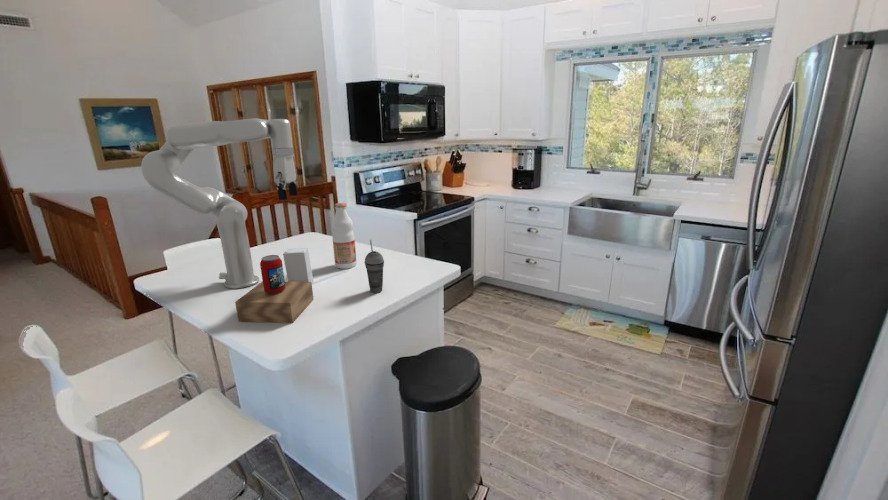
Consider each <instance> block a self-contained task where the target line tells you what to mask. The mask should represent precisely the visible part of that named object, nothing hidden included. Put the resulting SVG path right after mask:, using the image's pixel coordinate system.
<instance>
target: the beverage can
mask: <svg viewBox="0 0 888 500" xmlns="http://www.w3.org/2000/svg"><path fill="white" fill-rule="evenodd" d="M259 265H260V266H259V267H260V274H261V279H262V281H263V286H264V291H265V292H266V293H269V294H277V293H280V292H282V291H283V290H284V289H285V281H286V280H285V272H284V267H283V261H282V259H281V258H280V256H279V255H277V254H269V255H265V256H261V259H260V262H259Z"/></svg>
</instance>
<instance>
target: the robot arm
mask: <svg viewBox="0 0 888 500" xmlns="http://www.w3.org/2000/svg"><path fill="white" fill-rule="evenodd" d="M292 137H293V136H292V129H291V122H290V120H289V119H287V118H273V119H262V118H257V117H256V118H255V117H253V118H244V119H235V120H224V121H221V120H210V121H202V122H193V123H183V124H174V125H171V126H169V127H168V129H167V130H166V132H165V139H166V141H165V142H164V144H163V145H162V146H161V147H160V148H159V149H158V150H152V151H151V152H148V153H147V154H145V155H144V156H143V158H142V160H141V164H140V165H141V167H140V168H141V173H142V177H143V178H144V180H145V182H146V183H147V184H148V185H149V186H150V187H151V188H153V190H155V191H157V192H159V193H160V194H162V195H163V196H165V197H167V198H169V199H171V200H173V201H175V202H176V203H178V204H180V205H182V207H183V206H184V207H186V208H188V209H189V210H190V211H193V212H195V213H196V214H200V215H201V216H203V215H205V216H206V215H210V214H211V215H212V216H213V215H214V216H215V217H216V219H215V223H216V227H217V231H218V234H219V238H220V243H221V248H222V254H223V259H224V264H225V270H226V272H220V273H219V276H218V279H219V280H225V281H224V283H223V284H224V287H225V288H227V289H233V290H234V289H235V290H236V289H237V290H238V289H244V288H248V287H252V286H254V285H257V283H258V284H259V282H260V277H259V276H257V275H255V272H254V267H253V266H254V265H253V259H252V253H251V247H250V241H249V236H248V235H249V234H248V231H247V226H246V220H247V218H248V210H247V208H246V206H245V205H244V204H243V203H241V202H240V201H238V200H236V199H235V198H233V197H231V196H230V195H228V194H226V193H224V192H222V191H220V190H218V189H217V188H214V187H212V186H198V185H196V184H195V183H192V182H190V181H188V180H187V179H185V178H183V177H181V176H178V175H176V174H175V173H174V172H176V171H177V170H178V169H180V168H181V166H182V165H184V164H183V163H184V162H185V161H186V160H187V159H188V157H189V156H190V155H191V154H192V152H193V150H194V149H201V148H209V147H210V148H211V147H219V146H225V145H229V144H237V143H245V142H255V141H262V140H266V139H270V145H271V150H272V152H271V153H272V159H273V160H272V166H273V170H272V171H273V179H274V183H275V186H276V190H277V195H278V196H277V197H278V199H279V201H282V200H283V201H287V200H288V192H287V189H286V187H287V184H288V191H289V196H298V195H299V193H298V186H297V185H298V182H297V181H298V179H297V175H298V173H296V165H295V161H294V156H295V153H294V147H293V146H294V145H293V138H292Z"/></svg>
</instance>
